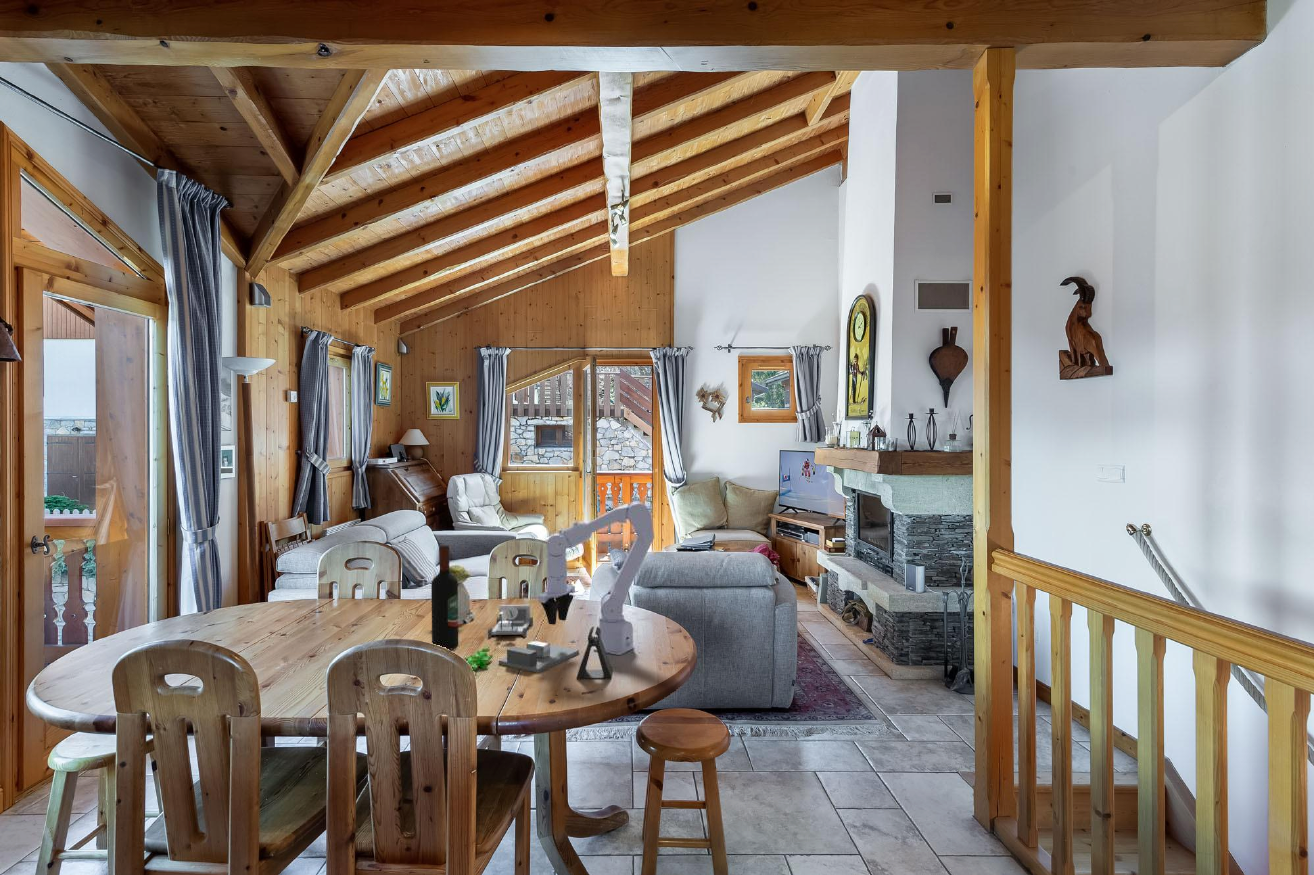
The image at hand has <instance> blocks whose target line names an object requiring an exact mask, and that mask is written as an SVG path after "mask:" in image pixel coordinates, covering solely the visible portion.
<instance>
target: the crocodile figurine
mask: <svg viewBox="0 0 1314 875" xmlns="http://www.w3.org/2000/svg"><path fill="white" fill-rule="evenodd" d="M490 650H491V648H489V647H487V648H485V647H483V648H482V649H481V650H477V651H476V653H474V654H473V655H470V656H468V657H465V658H463V660H466V661H467V662H468V663H469V664H470V666H471V667H472V669H473V670H472V671H474V672H475V673H476V674H477V672H476V671H475V670H477V669H479V668H478V667H480V669H487V668H488V665H487V663H488V662H489V663H490V661H491V659H492V658H493V656H494V654H493V653H491V654H488V652H489V651H490Z"/></svg>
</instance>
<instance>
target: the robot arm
mask: <svg viewBox="0 0 1314 875" xmlns="http://www.w3.org/2000/svg"><path fill="white" fill-rule="evenodd" d="M627 520H628V521H627ZM628 522H630V524H631V526H633V528H634V530H635V533H636V537H635V540H634V542H633V544H632V546H631V548H630V550H629V552H628V554H627V556H626V558H625V560H624V562H623V564H622V566H621V568H620V570H619V572H618V574H617V576H616V578H615V580H614V583H613V584H612V585H611V587H610V589H609V591H608V592H607V593H605V594H604V595H603V596H602V597H601V600H600V613H601V615H600V616H599V620H598V623H599V626H598V627H599V628H600V630H601V640H602V643H603V645H604V648H605V651H606V654H613V655H617V656H622V655H623V654H625V653H627V652H629V651H631V650H633V649H634V648H635V646H634V628H633V624H632V622H630V621H628V620H626V619H625V616H624V614H623V611H624V610H623V607H624V603H625V601H626V599H627V595H628V592H629V590H630V588H631V586H632V583H633V582H634V580H635V577H636V576H637V574H638V572H639V570H640V568H641V566H642V563H643V561H644V560H645V557H646V555H647V553H648V551H649V549H650V547H651V546H652V544H653V541H654V539H655V533H654V525H653V516H652V515H651V513H650V511H649V509H648V508H647V505H646V504H645V503H644V502H643V501H641V500H634V501H631V502H629V503H625V504H622V505H620V506H618V507H615V508H614V509H611V510H610V511H608V512H606V513H603V514H602V515H600V516H598V517H596V518H595V519H592V520H591V521H589V522H584V521H579V522H578V521H577V520H576V521H574V522H573V523H572V524H573V525H571V526H569V527H567V528H565V529H562V528H561V529H559V530H558V533H553V534H551V535H550V536H549V537H548V540H547V542H546V546H545V547H546V551H547V555H546V557H547V559H546V585H547V586H546V588H545V589H544V592H543V593H542V594H539V595H538V596H537V597H538V598H537V599H538V601H537V602H538V603H540V605H541V606H542V608H543V610H544V612H545V615H546V618H547V622H548V624H549V625H552V626H555V625H556V624H557V618H558V620H559V621H564V622H565V621H566V620H567V618H568V617H567V616H568V612H569V609H570V606H571V603H572V601H573V599H574V593H576V587H575V585H568V574H567V573H568V571H567V570H568V567H567V566H568V562H567V560H568V559H567V556H566V555H567V549H572V548H574V547H576V546H578V545H581V544H582V543H585V542H587V541H589V540H590V539H591V538H592V534H593V533H595V532H597V531H599V530H602V529H604V528H607V527H608V526H610V525H612V524H616V523H622V524H627V523H628ZM557 616H558V617H557ZM592 649H593V651H596V652H597V649H596V647H595V646H594V648H592Z"/></svg>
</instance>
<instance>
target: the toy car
mask: <svg viewBox="0 0 1314 875" xmlns="http://www.w3.org/2000/svg"><path fill="white" fill-rule="evenodd" d="M498 608H499V609H498V617H497V618H496V620H495V621H496V624H495V625H494V627H493V628H492V627H490V628H488V630H487V638H492V636H496V635H498V636H504V635H505V636H507V635H508V636H509V635H517V636H518V635H522V638H526V637H527V634H528V630H527V629H528V628H529V627H531V626H533V625H534V617H532V616H531V604H500V605H498Z"/></svg>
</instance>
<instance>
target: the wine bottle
mask: <svg viewBox="0 0 1314 875" xmlns="http://www.w3.org/2000/svg"><path fill="white" fill-rule="evenodd" d="M438 552H439V572H438V574H437V575H436V576H434V577H433V579H432V580H431V584H430V585H431V588H430V589H431V592H430V593H431V644H432V643H433V644H436V645H440V646H442V647H446V648H447V649H449V650H452V649H455V648H457V647H459V624H458V580H457V579H456V577H455V576H454V575H452V574H451V573H450V570H449V567H450V545H449V544H445V545H444V544H443V545H439V549H438Z"/></svg>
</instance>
